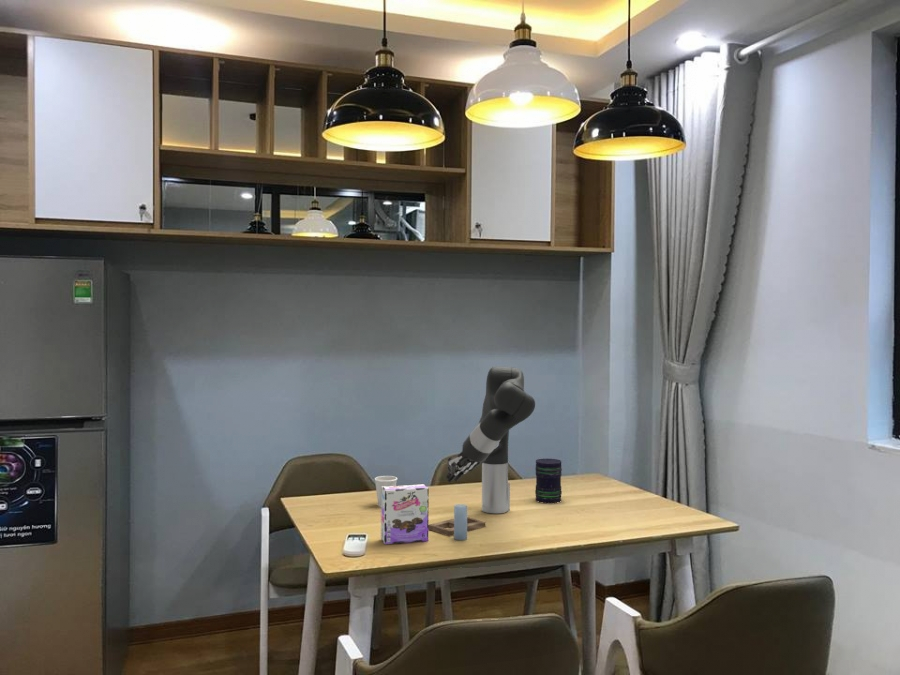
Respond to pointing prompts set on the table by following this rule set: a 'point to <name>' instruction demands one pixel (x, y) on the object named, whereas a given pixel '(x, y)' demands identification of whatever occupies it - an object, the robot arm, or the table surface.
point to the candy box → (404, 513)
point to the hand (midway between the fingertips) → (451, 479)
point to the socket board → (442, 525)
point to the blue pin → (460, 522)
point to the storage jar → (548, 480)
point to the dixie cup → (381, 482)
